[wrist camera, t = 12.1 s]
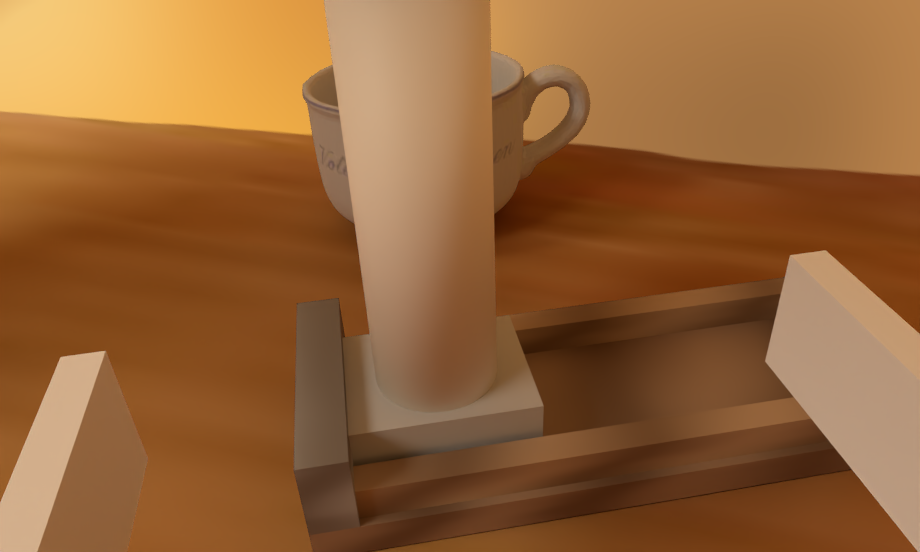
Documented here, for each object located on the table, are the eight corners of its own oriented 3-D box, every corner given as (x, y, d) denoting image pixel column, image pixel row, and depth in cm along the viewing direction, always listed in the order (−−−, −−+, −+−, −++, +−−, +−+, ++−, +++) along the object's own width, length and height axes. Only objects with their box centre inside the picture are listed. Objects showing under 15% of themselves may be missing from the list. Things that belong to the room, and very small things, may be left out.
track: (315, 560, 23) (294, 470, 21) (313, 386, 30) (296, 303, 27) (916, 458, 25) (955, 366, 23) (790, 317, 32) (810, 236, 30)
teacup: (300, 267, 37) (270, 111, 32) (350, 169, 46) (332, 37, 41) (588, 273, 35) (599, 111, 31) (582, 171, 44) (589, 34, 40)
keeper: (356, 483, 24) (261, -64, 15) (349, 382, 28) (271, -97, 19) (542, 453, 24) (556, -86, 16) (509, 359, 28) (506, -113, 19)
